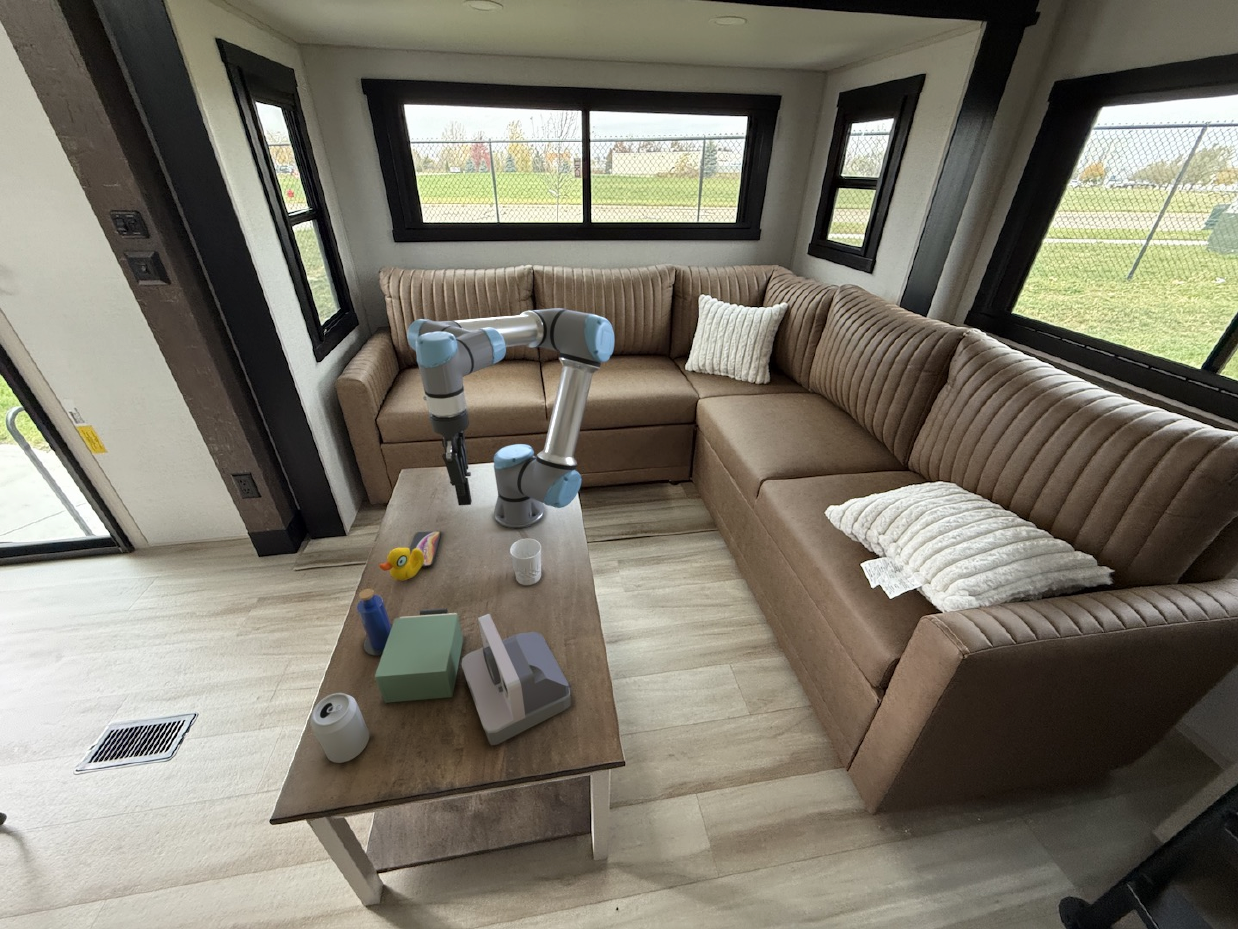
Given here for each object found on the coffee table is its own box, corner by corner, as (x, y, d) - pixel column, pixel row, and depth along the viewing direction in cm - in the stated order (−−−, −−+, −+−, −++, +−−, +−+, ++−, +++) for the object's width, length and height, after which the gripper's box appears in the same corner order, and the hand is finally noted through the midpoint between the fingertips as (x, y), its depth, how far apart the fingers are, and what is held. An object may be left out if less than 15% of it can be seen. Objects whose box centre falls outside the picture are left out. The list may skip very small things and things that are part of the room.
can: (336, 727, 97) (318, 690, 91) (376, 724, 98) (360, 687, 92) (320, 767, 91) (299, 730, 85) (362, 764, 92) (345, 727, 85)
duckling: (394, 594, 127) (384, 567, 121) (382, 584, 130) (372, 557, 124) (431, 568, 135) (424, 541, 129) (419, 559, 137) (411, 532, 132)
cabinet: (402, 644, 114) (394, 618, 110) (463, 639, 116) (457, 614, 111) (384, 703, 102) (374, 677, 97) (452, 697, 103) (445, 671, 99)
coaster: (370, 628, 118) (370, 627, 118) (405, 626, 119) (405, 625, 118) (359, 657, 111) (358, 656, 111) (396, 654, 112) (396, 653, 112)
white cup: (537, 589, 129) (535, 560, 124) (509, 584, 131) (505, 556, 125) (547, 568, 136) (545, 540, 131) (520, 564, 137) (516, 536, 132)
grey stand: (462, 662, 110) (451, 615, 103) (552, 636, 117) (549, 590, 109) (474, 753, 94) (462, 706, 86) (579, 717, 100) (577, 670, 92)
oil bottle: (397, 630, 117) (382, 583, 109) (391, 648, 113) (375, 601, 105) (374, 632, 116) (357, 585, 108) (367, 650, 112) (349, 603, 104)
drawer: (410, 622, 118) (404, 602, 115) (463, 619, 120) (459, 599, 116) (389, 690, 103) (382, 669, 100) (450, 684, 105) (445, 664, 101)
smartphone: (441, 530, 147) (431, 565, 135) (442, 532, 148) (432, 568, 135) (415, 531, 146) (403, 567, 134) (416, 534, 147) (403, 569, 134)
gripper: (435, 397, 106) (453, 487, 119) (421, 425, 95) (443, 522, 108) (471, 396, 107) (485, 486, 120) (461, 424, 96) (478, 520, 109)
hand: (465, 503), depth 114 cm, fingers closed
